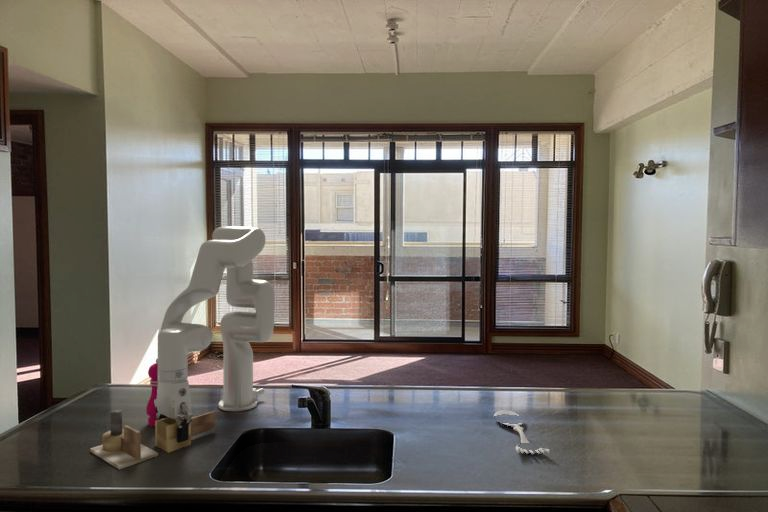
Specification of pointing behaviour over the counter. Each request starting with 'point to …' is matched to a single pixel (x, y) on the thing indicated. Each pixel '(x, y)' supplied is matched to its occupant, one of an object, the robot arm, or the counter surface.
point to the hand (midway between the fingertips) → (172, 436)
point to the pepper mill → (153, 393)
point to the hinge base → (122, 444)
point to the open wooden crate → (168, 430)
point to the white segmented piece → (522, 435)
